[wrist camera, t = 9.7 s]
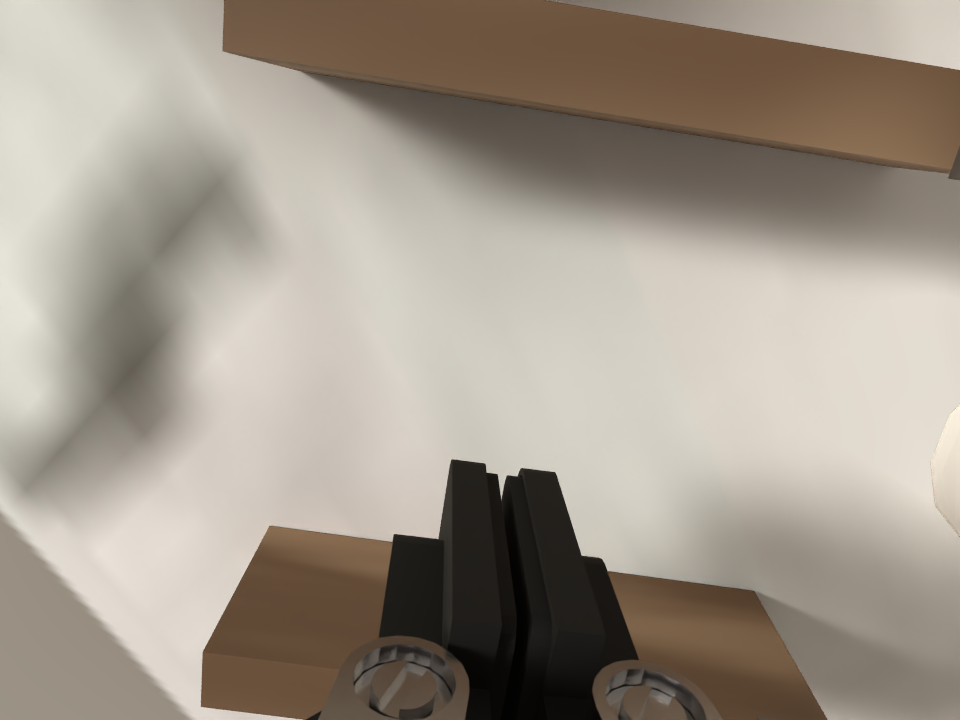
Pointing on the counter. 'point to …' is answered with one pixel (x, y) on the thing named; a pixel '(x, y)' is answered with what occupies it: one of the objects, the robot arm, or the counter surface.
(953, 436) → the foam cup
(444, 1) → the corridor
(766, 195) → the counter surface
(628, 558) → the counter surface
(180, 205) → the counter surface
